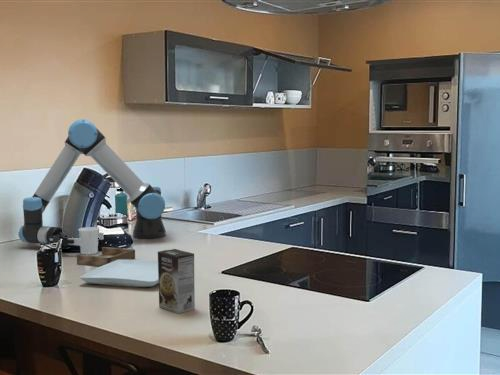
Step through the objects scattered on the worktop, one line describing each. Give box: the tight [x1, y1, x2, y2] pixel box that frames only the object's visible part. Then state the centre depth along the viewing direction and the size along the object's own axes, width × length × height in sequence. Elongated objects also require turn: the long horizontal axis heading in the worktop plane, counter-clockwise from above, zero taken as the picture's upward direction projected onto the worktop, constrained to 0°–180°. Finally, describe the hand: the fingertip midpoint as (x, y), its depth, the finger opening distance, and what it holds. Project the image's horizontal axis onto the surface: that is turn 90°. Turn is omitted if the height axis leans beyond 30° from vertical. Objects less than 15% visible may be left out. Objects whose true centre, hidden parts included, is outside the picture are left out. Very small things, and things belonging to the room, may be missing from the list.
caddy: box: [76, 246, 136, 267], centre depth 228 cm, size 15×16×4 cm
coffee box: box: [157, 248, 196, 315], centre depth 167 cm, size 9×6×16 cm
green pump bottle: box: [114, 188, 129, 218], centre depth 310 cm, size 6×7×20 cm
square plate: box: [78, 259, 159, 288], centre depth 202 cm, size 27×27×4 cm
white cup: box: [77, 226, 99, 256], centre depth 243 cm, size 8×8×10 cm
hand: (92, 239), depth 242 cm, fingers open, 13 cm apart
